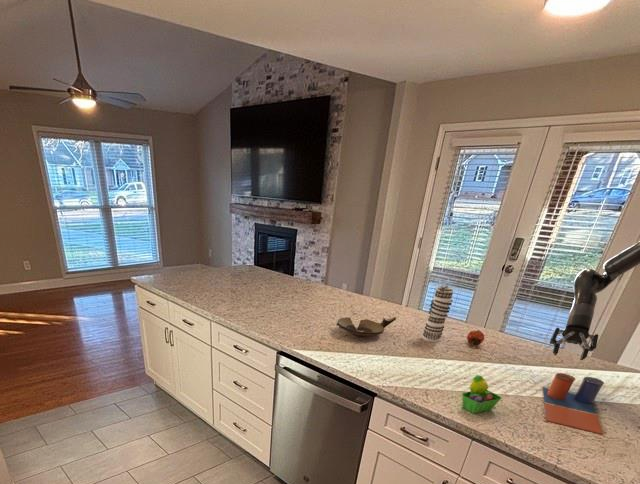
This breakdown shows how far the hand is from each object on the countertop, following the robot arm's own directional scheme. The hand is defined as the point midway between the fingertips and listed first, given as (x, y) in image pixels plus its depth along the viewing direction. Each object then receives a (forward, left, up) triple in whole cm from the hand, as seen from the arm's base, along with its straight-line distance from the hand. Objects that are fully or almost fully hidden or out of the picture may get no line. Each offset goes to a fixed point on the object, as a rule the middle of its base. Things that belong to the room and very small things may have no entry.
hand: (568, 356), depth 155 cm
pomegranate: (+32, -33, -13) cm, 48 cm away
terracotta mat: (-4, +25, -13) cm, 29 cm away
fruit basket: (+26, +35, -13) cm, 46 cm away
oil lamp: (+81, -17, -13) cm, 84 cm away
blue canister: (-9, +7, -13) cm, 17 cm away
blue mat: (-4, +10, -13) cm, 17 cm away
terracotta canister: (0, +9, -13) cm, 16 cm away
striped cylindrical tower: (+51, -30, -13) cm, 61 cm away
